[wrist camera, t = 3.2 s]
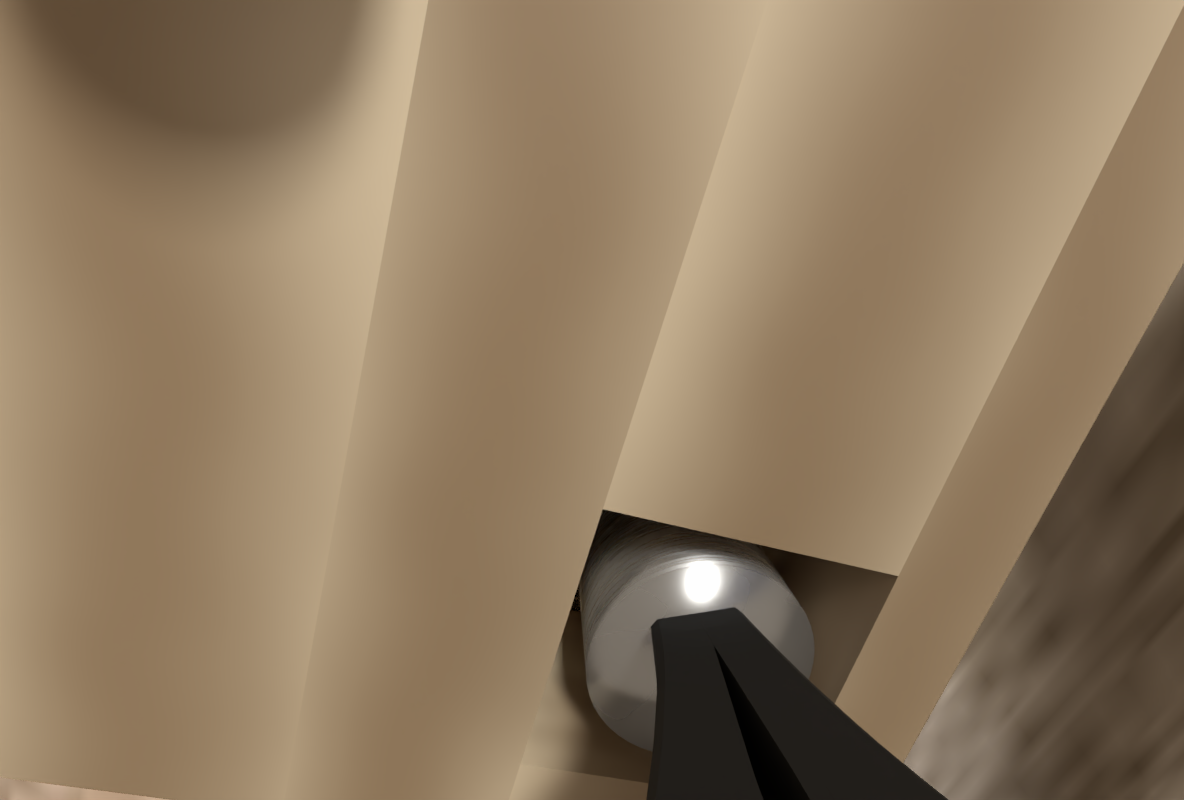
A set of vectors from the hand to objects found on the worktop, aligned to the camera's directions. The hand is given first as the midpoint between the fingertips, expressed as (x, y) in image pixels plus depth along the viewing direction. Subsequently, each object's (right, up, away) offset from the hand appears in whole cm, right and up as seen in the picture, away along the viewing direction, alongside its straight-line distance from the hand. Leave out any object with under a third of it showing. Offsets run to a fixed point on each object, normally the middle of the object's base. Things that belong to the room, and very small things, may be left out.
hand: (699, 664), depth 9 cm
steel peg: (0, +1, +3) cm, 3 cm away
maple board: (-2, +7, +2) cm, 7 cm away
